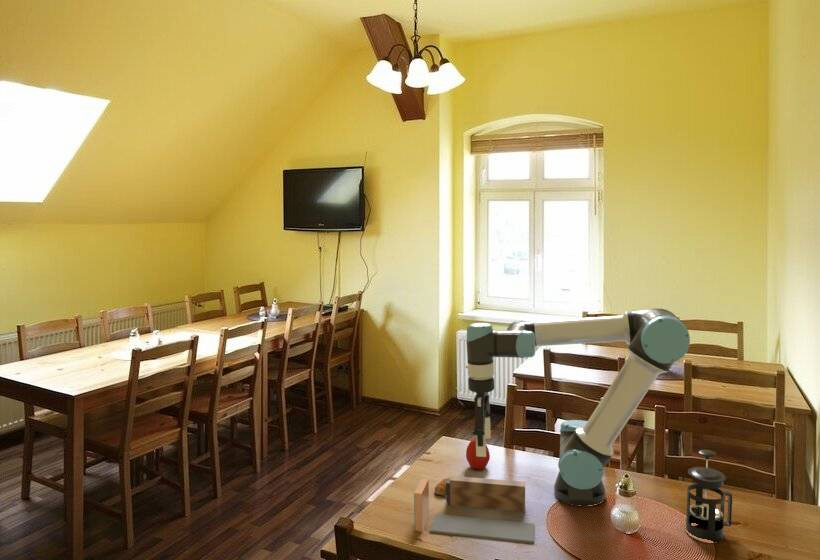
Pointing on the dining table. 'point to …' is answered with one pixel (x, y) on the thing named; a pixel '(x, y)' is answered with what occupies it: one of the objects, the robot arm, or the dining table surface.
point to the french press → (707, 502)
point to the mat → (483, 528)
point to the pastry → (441, 487)
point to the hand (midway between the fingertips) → (483, 446)
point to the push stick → (486, 493)
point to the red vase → (475, 460)
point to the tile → (421, 504)
